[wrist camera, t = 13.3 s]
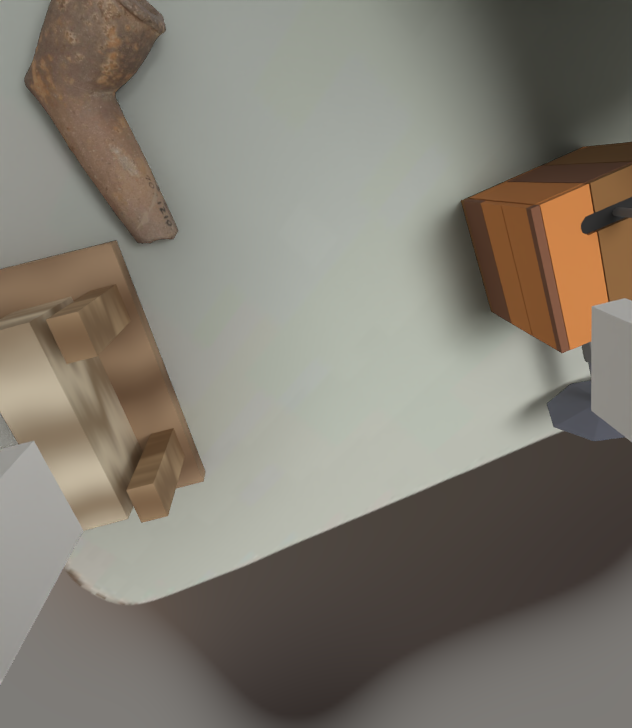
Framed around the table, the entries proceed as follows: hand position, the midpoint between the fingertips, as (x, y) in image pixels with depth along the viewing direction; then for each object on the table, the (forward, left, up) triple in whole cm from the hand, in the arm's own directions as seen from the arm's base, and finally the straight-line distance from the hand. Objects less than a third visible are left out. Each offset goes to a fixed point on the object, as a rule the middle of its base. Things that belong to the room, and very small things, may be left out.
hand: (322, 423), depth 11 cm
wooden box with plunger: (+9, +22, -29) cm, 38 cm away
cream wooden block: (+7, -19, -27) cm, 34 cm away
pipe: (-11, -8, -29) cm, 32 cm away
